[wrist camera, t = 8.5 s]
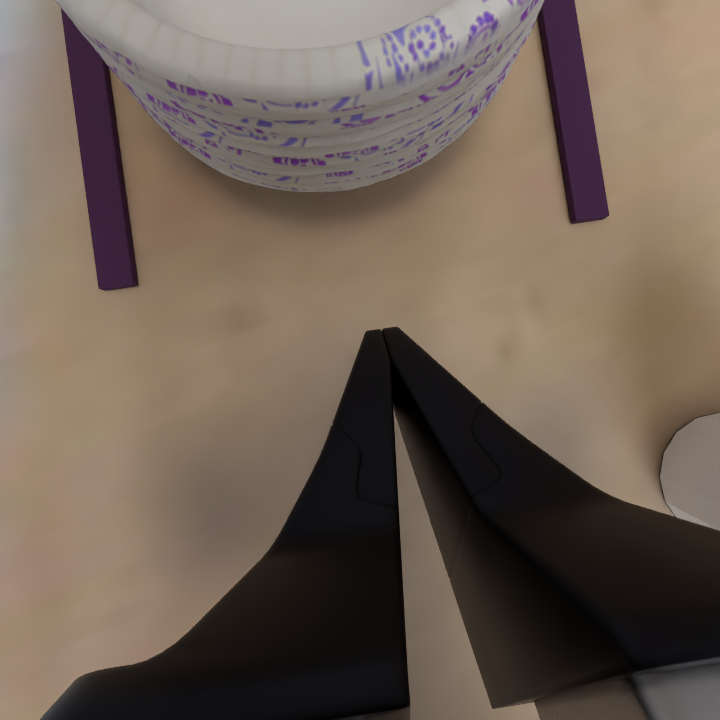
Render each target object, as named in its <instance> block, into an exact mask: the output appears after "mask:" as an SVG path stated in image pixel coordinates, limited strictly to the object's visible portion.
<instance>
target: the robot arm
mask: <svg viewBox="0 0 720 720" xmlns="http://www.w3.org/2000/svg"><path fill="white" fill-rule="evenodd" d="M393 408H394V412H395V415H396V418H397V421H398V424H399V427H400V431H401V434H402V437H403V440H404V443H405V446H406V449H407V452H408V455H409V458H410V461H411V464H412V467H413V470H414V473H415V476H416V479H417V482H418V485H419V488H420V491H421V494H422V497H423V500H424V503H425V506H426V509H427V512H428V515H429V518H430V521H431V525H432V528H433V531H434V534H435V537H436V540H437V543H438V546H439V549H440V552H441V555H442V558H443V561H444V564H445V567H446V570H447V573H448V576H449V578H450V582H451V585H452V588H453V591H454V594H455V598H456V601H457V604H458V607H459V610H460V613H461V616H462V619H463V622H464V625H465V628H466V631H467V634H468V637H469V640H470V643H471V646H472V649H473V652H474V655H475V658H476V661H477V664H478V667H479V670H480V673H481V676H482V679H483V682H484V685H485V688H486V691H487V694H488V697H489V700H490V703H491V706H492V708H493V709H495V708H501V707H507V706H514V705H520V704H526V703H532V702H534V703H535V706H536V709H537V712H538V715H539V718H540V720H720V531H719V530H716V529H713V528H710V527H706V526H703V525H700V524H696V523H693V522H690V521H687V520H683V519H680V518H677V517H673V516H670V515H667V514H664V513H660V512H657V511H654V510H650V509H647V508H644V507H641V506H637V505H634V504H631V503H628V502H625V501H622V500H620V499H617V498H615V497H613V496H611V495H609V494H607V493H605V492H603V491H601V490H599V489H598V488H596V487H594V486H592V485H591V484H590V483H588V482H587V481H585V480H584V479H582V478H581V477H579V476H578V475H577V474H575V473H574V472H572V471H571V470H570V469H568V468H567V467H565V466H564V465H563V464H561V463H560V462H558V461H557V460H556V459H554V458H553V457H551V456H550V455H549V454H547V453H546V452H545V451H543V450H542V449H540V448H539V447H538V446H536V445H535V444H533V443H532V442H531V441H529V440H528V439H527V438H525V437H524V436H523V435H521V434H520V433H519V432H517V431H516V430H515V429H513V428H512V427H511V426H510V425H508V424H507V423H506V422H505V421H504V420H502V419H501V418H500V417H499V416H498V415H497V414H495V413H494V412H493V411H492V410H491V409H490V408H489V407H487V406H486V405H485V404H484V403H481V401H480V400H479V399H478V398H477V397H476V396H475V395H474V394H473V393H471V392H470V391H469V390H468V389H467V388H466V387H465V386H464V385H462V384H461V383H460V382H459V381H458V380H457V379H456V378H455V377H453V376H452V375H451V374H450V373H449V372H448V371H447V370H446V369H444V368H443V367H442V366H441V365H440V364H439V363H438V362H437V361H435V360H434V359H433V358H432V357H431V356H430V355H429V354H428V353H426V352H425V351H424V350H423V349H422V348H421V347H420V346H419V345H417V344H416V343H415V342H414V341H413V340H412V339H411V338H410V337H408V336H407V335H406V334H405V333H404V332H403V331H402V330H401V329H400V328H398V327H390V328H384V329H383V330H382V331H381V330H380V329H377V330H370V331H366V332H365V334H364V337H363V340H362V343H361V346H360V348H359V351H358V354H357V357H356V359H355V362H354V365H353V368H352V370H351V373H350V376H349V379H348V382H347V384H346V387H345V390H344V393H343V395H342V398H341V401H340V404H339V407H338V409H337V412H336V415H335V418H334V420H333V425H332V426H331V428H330V431H329V434H328V437H327V439H326V442H325V444H324V447H323V449H322V452H321V454H320V456H319V459H318V461H317V463H316V465H315V467H314V469H313V471H312V473H311V475H310V477H309V479H308V481H307V483H306V485H305V487H304V488H303V490H302V492H301V494H300V496H299V498H298V500H297V502H296V504H295V506H294V507H293V509H292V511H291V513H290V515H289V517H288V519H287V521H286V523H285V525H284V526H283V528H282V530H281V532H280V534H279V535H278V537H277V538H276V540H275V542H274V543H273V545H272V546H271V548H270V549H269V550H268V552H267V553H266V554H265V555H264V556H263V558H262V559H261V560H260V561H259V562H258V563H257V564H256V565H255V566H254V567H253V568H252V569H251V570H250V571H249V572H248V573H247V574H246V575H245V576H244V577H243V578H242V579H241V580H240V581H239V582H238V583H237V584H236V585H235V586H234V587H233V588H232V589H231V590H230V591H229V592H228V593H227V594H226V595H225V596H224V597H223V598H222V599H221V600H220V601H219V602H218V603H217V604H216V605H215V606H214V607H213V608H212V609H211V610H210V611H209V612H208V613H207V614H206V615H205V616H204V617H203V618H202V619H201V620H200V621H199V622H198V623H197V624H196V625H195V626H194V627H193V628H192V629H191V630H190V631H189V632H188V633H187V634H185V635H184V636H183V637H182V638H181V639H180V640H179V641H178V642H176V643H175V644H174V645H172V646H171V647H169V648H168V649H166V650H165V651H163V652H162V653H160V654H158V655H156V656H154V657H152V658H150V659H148V660H146V661H143V662H140V663H136V664H133V665H126V666H120V667H114V668H108V669H103V670H98V671H94V672H91V673H87V674H85V675H83V676H81V677H79V678H78V679H76V680H75V681H74V682H73V683H72V684H71V686H70V687H69V688H68V689H67V690H66V691H65V692H64V693H63V694H62V695H61V697H60V698H59V699H58V700H57V701H56V702H55V703H54V704H53V705H52V706H51V707H50V709H49V710H48V711H47V712H46V713H45V714H44V715H43V716H42V718H41V719H40V720H410V694H409V682H408V669H407V651H406V633H405V615H404V597H403V579H402V561H401V543H400V525H399V507H398V488H397V469H396V451H395V432H394V414H393Z"/></svg>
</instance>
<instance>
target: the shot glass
mask: <svg viewBox="0 0 720 720" xmlns="http://www.w3.org/2000/svg"><path fill="white" fill-rule="evenodd" d="M660 481H661V485H662V489H663V494H664V498H665V502H666V503H667V505H668V506H669V508H670V509H671V510H672V512H673V513H674V515H675V516H676V517H677V518H680V519H683V520H687V521H690V522H693V523H696V524H700V525H703V526H706V527H710V528H713V529H716V530H719V531H720V413H717V414H712V415H708V416H703V417H699V418H696V419H694V420H693V421H692V422H690V423H689V424H687V425H686V426H685V427H683V428H682V429H680V430H679V431H678V432H676V434H675V436H674V437H673V439H672V440H671V442H670V444H669V445H668V447H667V449H666V450H665V452H664V455H663V461H662V467H661V473H660Z"/></svg>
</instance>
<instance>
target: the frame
mask: <svg viewBox="0 0 720 720" xmlns="http://www.w3.org/2000/svg"><path fill="white" fill-rule="evenodd" d="M61 12H62V19H63V26H64V34H65V41H66V49H67V56H68V64H69V71H70V78H71V86H72V93H73V101H74V108H75V116H76V123H77V130H78V138H79V145H80V153H81V160H82V168H83V175H84V183H85V190H86V197H87V205H88V212H89V220H90V227H91V235H92V242H93V249H94V257H95V264H96V272H97V279H98V287H99V289H101V290H105V291H106V290H113V289H120V288H127V287H134V286H138V281H137V274H136V267H135V260H134V252H133V245H132V238H131V230H130V223H129V216H128V208H127V201H126V194H125V186H124V179H123V172H122V164H121V157H120V150H119V142H118V135H117V128H116V120H115V113H114V106H113V98H112V91H111V84H110V77H109V69H108V66H107V64H106V63H105V62H104V60H103V59H102V58H101V56H100V55H99V54H98V53H97V52H96V50H95V49H94V47H93V46H92V45H91V44H90V42H89V41H88V40H87V39H86V38H85V37H84V35H83V34H82V33H81V32H80V31H79V29H78V28H77V27H76V26H75V24H74V23H73V21H72V20H71V19H70V18H69V17H68V15H67V14H66V13H65V12H64V11H63V9H62V8H61ZM538 19H539V25H540V31H541V38H542V44H543V50H544V56H545V63H546V69H547V75H548V81H549V88H550V94H551V100H552V106H553V113H554V119H555V125H556V131H557V138H558V144H559V150H560V156H561V163H562V169H563V175H564V181H565V188H566V194H567V200H568V206H569V213H570V219H571V223H572V224H573V223H580V222H587V221H594V220H601V219H604V218H606V217H608V216H609V211H608V205H607V199H606V193H605V187H604V181H603V174H602V168H601V162H600V156H599V150H598V144H597V137H596V131H595V125H594V119H593V113H592V106H591V100H590V94H589V88H588V82H587V76H586V69H585V63H584V57H583V51H582V45H581V39H580V32H579V26H578V20H577V14H576V8H575V2H574V0H544V2H543V4H542V7H541V9H540V11H539V13H538Z"/></svg>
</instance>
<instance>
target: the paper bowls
mask: <svg viewBox="0 0 720 720" xmlns="http://www.w3.org/2000/svg"><path fill="white" fill-rule="evenodd" d="M55 1H56V2H57V4H58V5H59V6H60V7H61V8H62V9H63V11H64V12H65V13H66V14H67V15H68V17H69V18H70V19H71V20H72V21H73V23H74V24H75V26H76V27H77V28H78V29H79V31H80V32H81V33H82V34H83V35H84V37H85V38H86V39H87V40H88V41H89V42H90V44H91V45H92V46H93V47H94V49H95V50H96V52H97V53H98V54H99V55H100V56H101V58H102V59H103V60H104V62H105V63H106V64H107V66H108V67H109V68H110V69H111V70H112V72H113V73H114V74H115V75H116V76H117V77H118V78H119V79H120V80H121V81H122V83H123V84H124V85H125V87H126V88H127V89H128V91H129V92H130V93H131V94H132V96H133V97H134V98H135V99H136V100H137V102H138V103H139V104H140V105H141V106H142V107H143V108H144V109H145V111H146V112H147V113H148V114H149V115H150V116H151V118H152V119H153V120H154V121H155V122H156V123H157V124H158V125H159V126H160V127H161V128H162V129H163V130H164V131H165V132H166V133H168V134H169V135H170V136H171V137H172V138H173V139H174V140H175V141H176V142H177V143H179V144H180V145H181V146H182V147H183V148H185V149H186V150H187V151H188V152H189V153H191V154H192V155H193V156H195V157H196V158H198V159H199V160H201V161H202V162H204V163H205V164H207V165H209V166H210V167H212V168H214V169H215V170H217V171H219V172H220V173H222V174H224V175H227V176H229V177H232V178H235V179H237V180H240V181H243V182H246V183H250V184H254V185H258V186H262V187H266V188H272V189H277V190H283V191H294V192H336V191H346V190H352V189H356V188H360V187H364V186H369V185H372V184H375V183H377V182H380V181H382V180H387V179H390V178H392V177H395V176H397V175H400V174H402V173H404V172H407V171H409V170H411V169H413V168H415V167H417V166H419V165H421V164H423V163H425V162H427V161H428V160H430V159H431V158H433V157H434V156H436V155H437V154H438V153H440V152H441V151H442V150H443V149H444V148H446V147H447V146H449V145H450V144H451V143H453V142H454V141H455V140H456V139H458V138H459V137H460V136H461V135H462V134H463V133H464V132H465V131H466V130H467V129H468V128H469V127H470V126H471V125H472V124H473V123H474V121H475V120H476V119H477V118H478V117H479V116H480V114H481V113H482V111H483V110H484V109H485V108H486V106H487V105H488V104H489V102H490V101H491V100H492V98H493V97H494V96H495V94H496V93H497V92H498V90H499V88H500V87H501V85H502V84H503V82H504V81H505V79H506V77H507V75H508V74H509V72H510V70H511V68H512V66H513V63H514V61H515V59H516V57H517V55H518V53H519V52H520V49H521V47H522V46H523V44H524V43H525V41H526V39H527V38H528V36H529V34H530V32H531V30H532V27H533V25H534V23H535V21H536V18H537V16H538V13H539V11H540V9H541V7H542V4H543V2H544V0H55Z"/></svg>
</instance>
